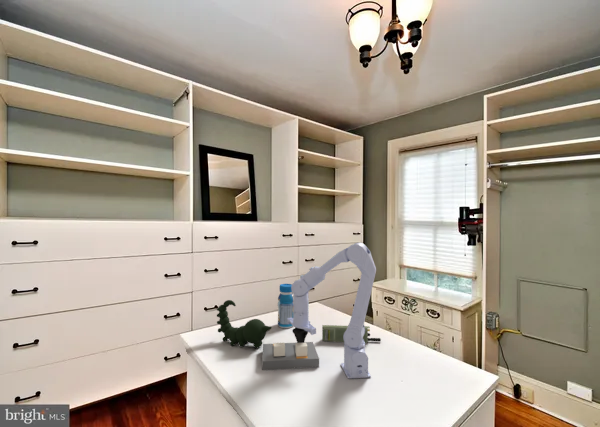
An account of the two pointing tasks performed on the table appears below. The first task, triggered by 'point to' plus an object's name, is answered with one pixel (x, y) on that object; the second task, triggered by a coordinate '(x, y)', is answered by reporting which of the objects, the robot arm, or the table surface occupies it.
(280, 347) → the tab
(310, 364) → the switch panel
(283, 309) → the beverage bottle
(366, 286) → the robot arm
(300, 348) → the tab
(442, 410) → the table surface
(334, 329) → the handheld radio
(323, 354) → the table surface
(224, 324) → the toy figurine
